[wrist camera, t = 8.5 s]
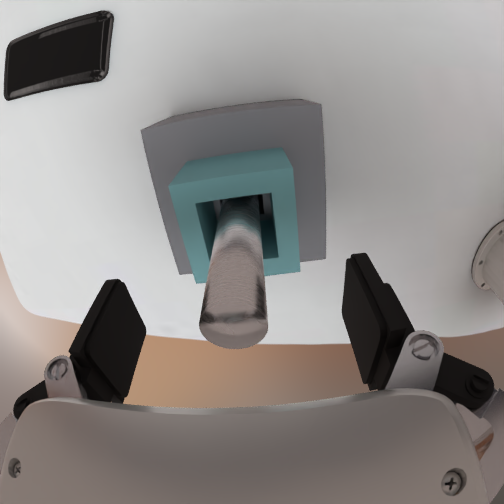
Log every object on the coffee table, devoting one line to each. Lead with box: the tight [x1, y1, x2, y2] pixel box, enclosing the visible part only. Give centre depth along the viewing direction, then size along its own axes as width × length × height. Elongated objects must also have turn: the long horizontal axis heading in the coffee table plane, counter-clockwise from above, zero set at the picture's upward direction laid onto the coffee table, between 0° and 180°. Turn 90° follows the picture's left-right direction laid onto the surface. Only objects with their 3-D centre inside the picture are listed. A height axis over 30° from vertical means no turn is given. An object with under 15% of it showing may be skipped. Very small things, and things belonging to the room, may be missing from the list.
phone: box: [4, 11, 114, 101], centre depth 19 cm, size 8×1×15 cm
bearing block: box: [141, 99, 326, 275], centre depth 23 cm, size 12×12×8 cm
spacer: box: [168, 147, 300, 284], centre depth 18 cm, size 6×6×5 cm
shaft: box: [199, 194, 268, 349], centre depth 16 cm, size 2×2×14 cm
